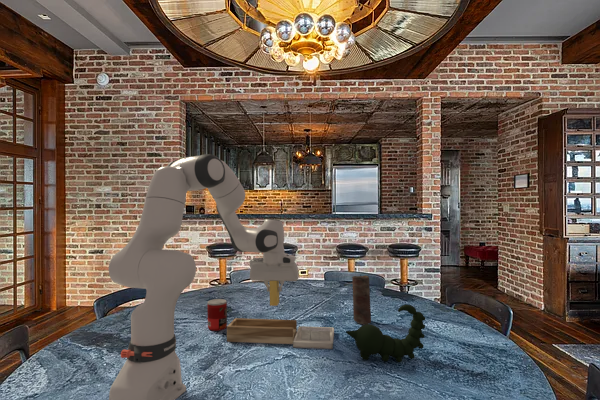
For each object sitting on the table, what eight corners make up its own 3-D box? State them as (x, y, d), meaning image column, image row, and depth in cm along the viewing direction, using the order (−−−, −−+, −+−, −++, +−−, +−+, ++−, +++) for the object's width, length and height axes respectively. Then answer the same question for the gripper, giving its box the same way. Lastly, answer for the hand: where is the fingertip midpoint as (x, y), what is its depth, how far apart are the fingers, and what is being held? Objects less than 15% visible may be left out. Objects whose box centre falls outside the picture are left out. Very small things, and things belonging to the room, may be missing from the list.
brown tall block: (350, 323, 149) (349, 276, 149) (356, 318, 155) (355, 273, 156) (368, 326, 145) (367, 277, 146) (373, 321, 152) (372, 274, 152)
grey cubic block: (310, 339, 131) (310, 330, 131) (301, 339, 131) (300, 330, 131) (311, 336, 134) (311, 327, 134) (302, 336, 134) (302, 326, 135)
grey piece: (320, 340, 130) (320, 331, 130) (311, 340, 130) (310, 330, 130) (321, 337, 133) (320, 327, 133) (311, 336, 133) (311, 327, 134)
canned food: (222, 331, 142) (222, 304, 142) (204, 330, 143) (203, 303, 144) (230, 325, 149) (229, 299, 149) (212, 324, 151) (212, 298, 151)
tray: (332, 349, 123) (332, 343, 123) (293, 347, 125) (293, 341, 125) (334, 332, 139) (334, 327, 139) (299, 331, 141) (299, 326, 141)
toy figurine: (416, 357, 119) (342, 351, 120) (420, 302, 119) (346, 295, 120) (425, 371, 110) (345, 363, 111) (429, 310, 110) (349, 303, 111)
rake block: (277, 305, 143) (276, 281, 143) (269, 305, 143) (269, 281, 143) (279, 302, 148) (278, 278, 148) (272, 302, 148) (271, 278, 148)
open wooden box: (293, 344, 128) (292, 329, 128) (226, 341, 131) (226, 326, 131) (296, 334, 138) (296, 319, 138) (235, 331, 141) (235, 318, 141)
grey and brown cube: (320, 340, 130) (330, 340, 129) (320, 330, 130) (329, 331, 130) (321, 336, 133) (330, 337, 133) (320, 327, 133) (330, 327, 133)
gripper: (247, 259, 144) (247, 292, 144) (296, 259, 141) (297, 293, 141) (251, 256, 150) (251, 289, 150) (298, 256, 147) (299, 289, 147)
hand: (274, 291), depth 145 cm, fingers closed on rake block, 3 cm apart
